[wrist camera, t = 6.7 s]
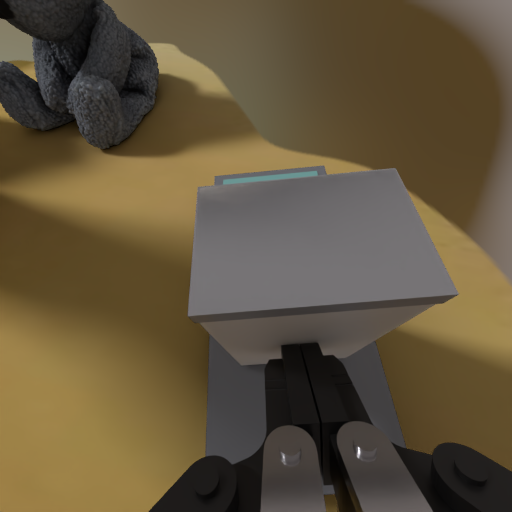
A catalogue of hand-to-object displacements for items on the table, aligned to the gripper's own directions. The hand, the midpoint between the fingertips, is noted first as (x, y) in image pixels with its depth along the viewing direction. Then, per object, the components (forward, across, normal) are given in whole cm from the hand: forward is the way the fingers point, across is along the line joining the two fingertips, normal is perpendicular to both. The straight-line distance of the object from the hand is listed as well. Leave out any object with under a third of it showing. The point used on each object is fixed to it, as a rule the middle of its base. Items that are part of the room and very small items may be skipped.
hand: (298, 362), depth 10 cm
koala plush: (+30, +21, -20) cm, 42 cm away
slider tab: (+5, 0, +1) cm, 5 cm away
